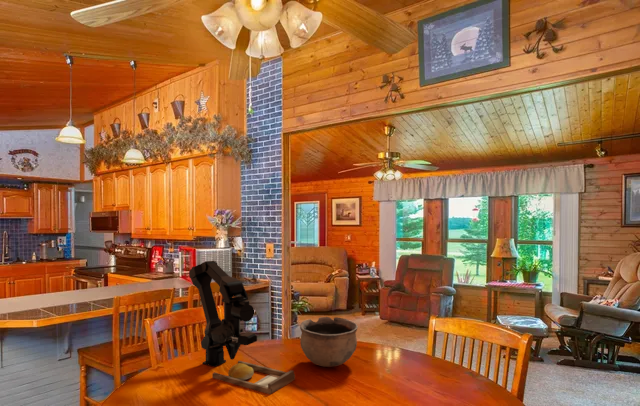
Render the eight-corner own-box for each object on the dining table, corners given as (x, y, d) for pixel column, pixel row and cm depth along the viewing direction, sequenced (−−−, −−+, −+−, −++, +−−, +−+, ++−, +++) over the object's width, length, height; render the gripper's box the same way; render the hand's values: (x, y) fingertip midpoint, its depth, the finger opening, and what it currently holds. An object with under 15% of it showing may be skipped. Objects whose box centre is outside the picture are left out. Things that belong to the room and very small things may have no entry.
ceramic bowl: (345, 350, 174) (345, 314, 174) (367, 370, 154) (367, 329, 154) (293, 357, 167) (293, 319, 167) (309, 378, 147) (309, 335, 147)
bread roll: (237, 383, 141) (237, 371, 141) (225, 376, 148) (224, 364, 148) (258, 376, 146) (258, 364, 147) (246, 369, 153) (245, 358, 153)
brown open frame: (212, 378, 146) (212, 369, 146) (239, 365, 158) (239, 356, 158) (270, 395, 133) (270, 385, 133) (294, 379, 146) (294, 370, 146)
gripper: (196, 317, 149) (196, 361, 149) (236, 325, 139) (236, 372, 139) (219, 310, 159) (219, 352, 158) (257, 317, 149) (258, 361, 149)
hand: (232, 359), depth 151 cm, fingers closed
